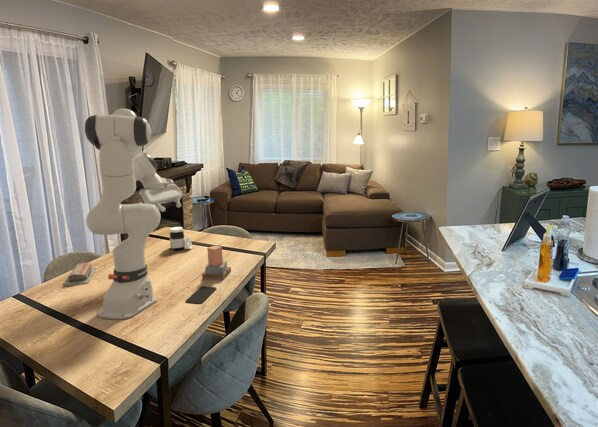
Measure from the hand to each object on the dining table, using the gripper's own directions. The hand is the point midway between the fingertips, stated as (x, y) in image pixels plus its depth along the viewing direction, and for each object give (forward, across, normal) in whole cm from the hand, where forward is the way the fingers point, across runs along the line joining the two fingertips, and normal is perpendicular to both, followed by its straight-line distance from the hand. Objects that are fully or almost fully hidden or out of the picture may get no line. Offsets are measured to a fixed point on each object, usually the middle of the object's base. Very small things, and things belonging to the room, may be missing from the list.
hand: (172, 208), depth 187 cm
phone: (+44, -18, -2) cm, 47 cm away
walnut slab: (+38, +2, +5) cm, 38 cm away
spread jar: (+6, +22, +36) cm, 43 cm away
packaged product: (-1, -30, +43) cm, 52 cm away
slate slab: (+36, +2, +3) cm, 36 cm away
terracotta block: (+33, +2, +1) cm, 33 cm away
